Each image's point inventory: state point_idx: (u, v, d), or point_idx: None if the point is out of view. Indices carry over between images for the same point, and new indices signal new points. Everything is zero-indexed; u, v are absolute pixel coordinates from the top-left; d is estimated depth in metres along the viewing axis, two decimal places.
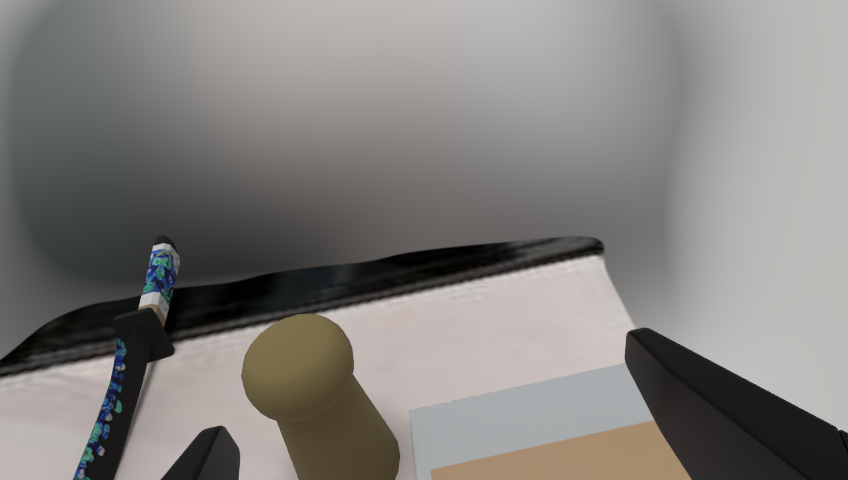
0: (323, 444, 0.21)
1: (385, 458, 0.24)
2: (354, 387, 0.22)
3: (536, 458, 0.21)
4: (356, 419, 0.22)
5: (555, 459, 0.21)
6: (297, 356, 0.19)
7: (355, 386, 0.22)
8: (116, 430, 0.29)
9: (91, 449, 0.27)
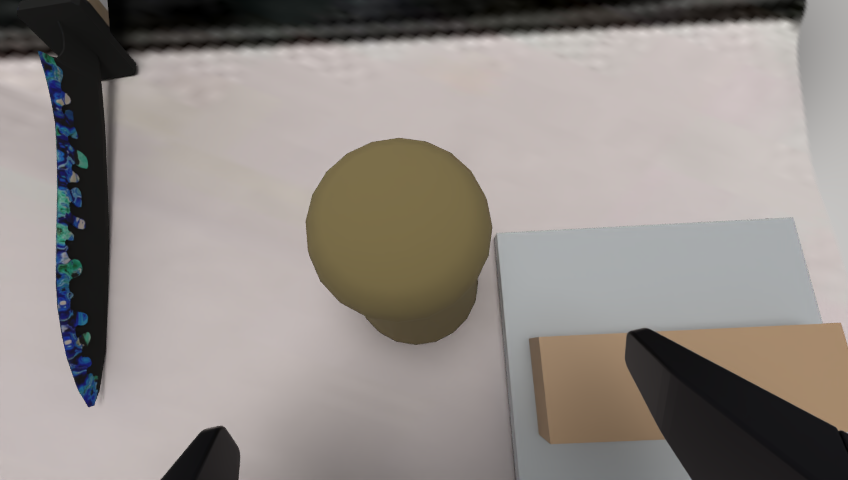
0: None
1: (471, 299, 0.19)
2: None
3: None
4: None
5: (697, 351, 0.17)
6: (420, 251, 0.10)
7: None
8: (91, 192, 0.21)
9: (65, 225, 0.20)
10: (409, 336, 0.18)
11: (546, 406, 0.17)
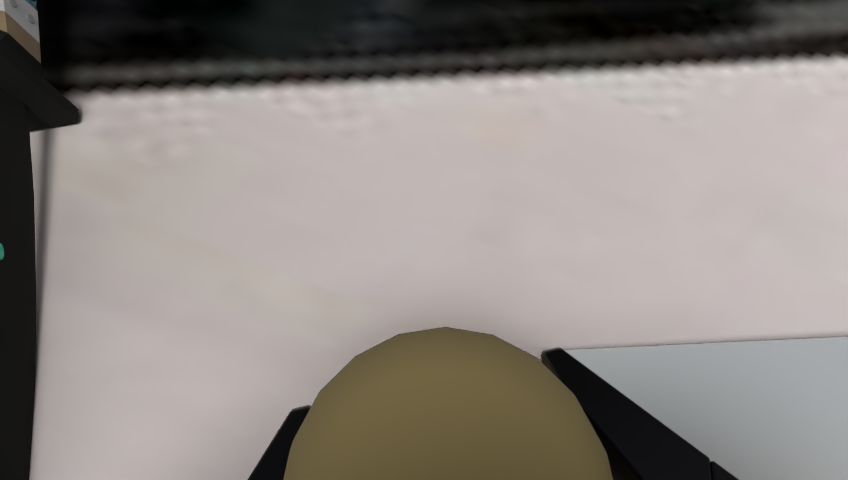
0: None
1: None
2: None
3: None
4: None
5: None
6: None
7: None
8: (8, 290, 0.16)
9: None
10: None
11: None
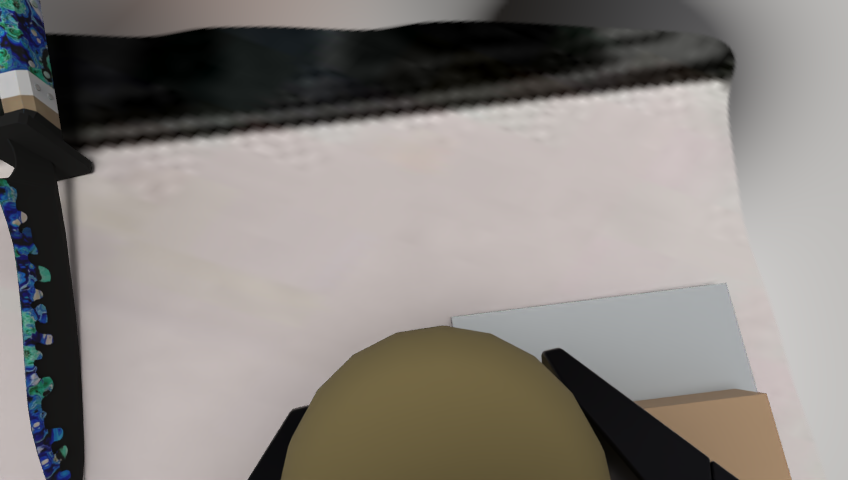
0: None
1: None
2: None
3: None
4: None
5: None
6: None
7: None
8: (56, 303, 0.22)
9: (33, 345, 0.20)
10: None
11: None
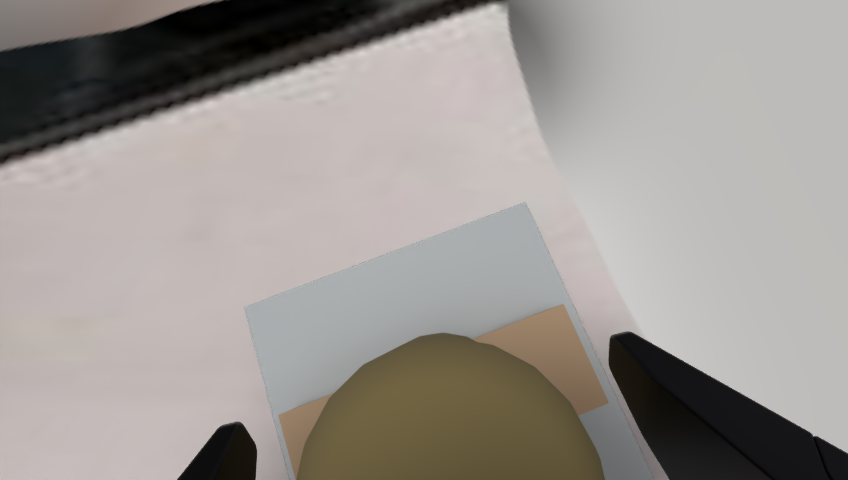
0: None
1: None
2: None
3: None
4: None
5: None
6: None
7: None
8: None
9: None
10: None
11: None
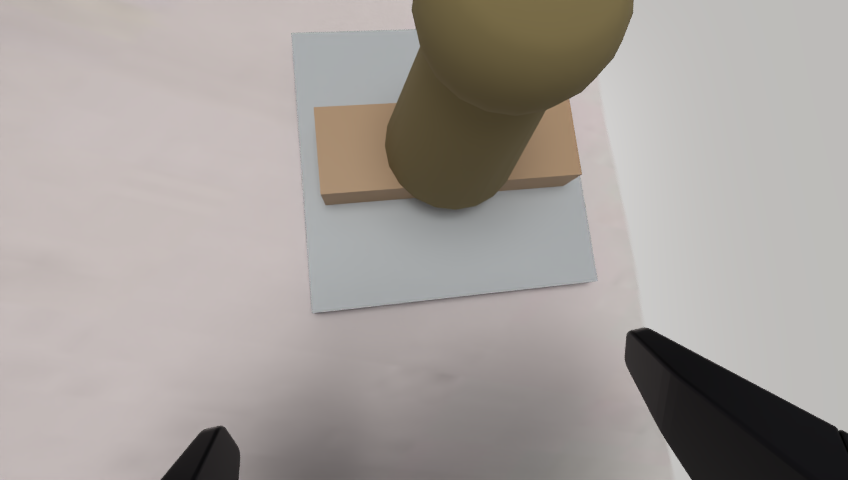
0: (481, 142, 0.13)
1: (511, 169, 0.18)
2: None
3: None
4: (533, 126, 0.14)
5: None
6: (567, 0, 0.09)
7: None
8: None
9: None
10: (440, 186, 0.17)
11: (318, 165, 0.19)
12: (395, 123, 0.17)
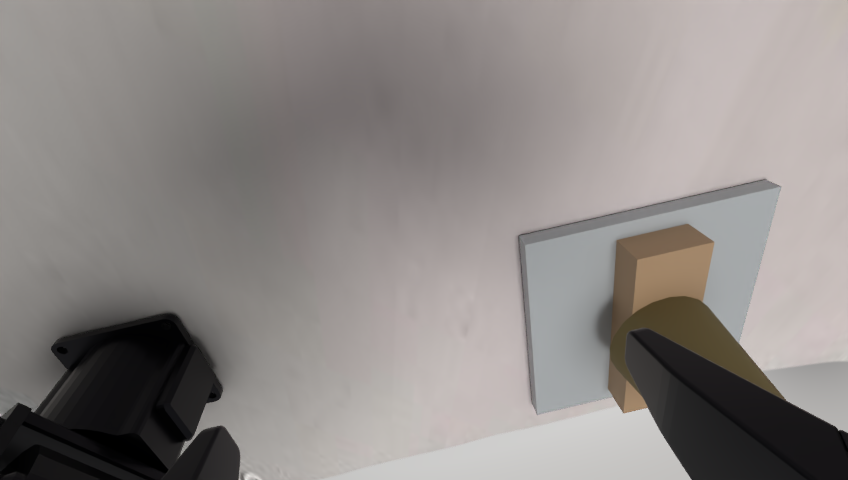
0: None
1: None
2: None
3: None
4: None
5: None
6: None
7: None
8: None
9: None
10: None
11: (662, 252, 0.21)
12: (699, 335, 0.21)
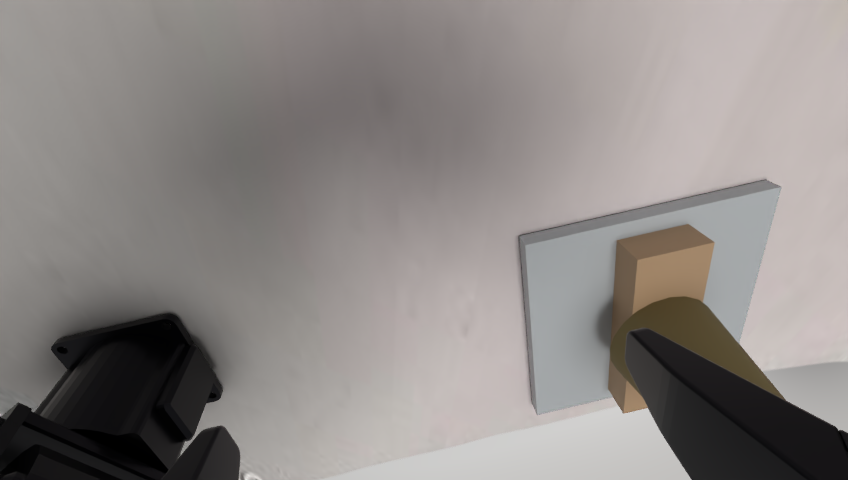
0: None
1: None
2: None
3: None
4: None
5: None
6: None
7: None
8: None
9: None
10: None
11: (662, 253, 0.21)
12: (699, 335, 0.21)
